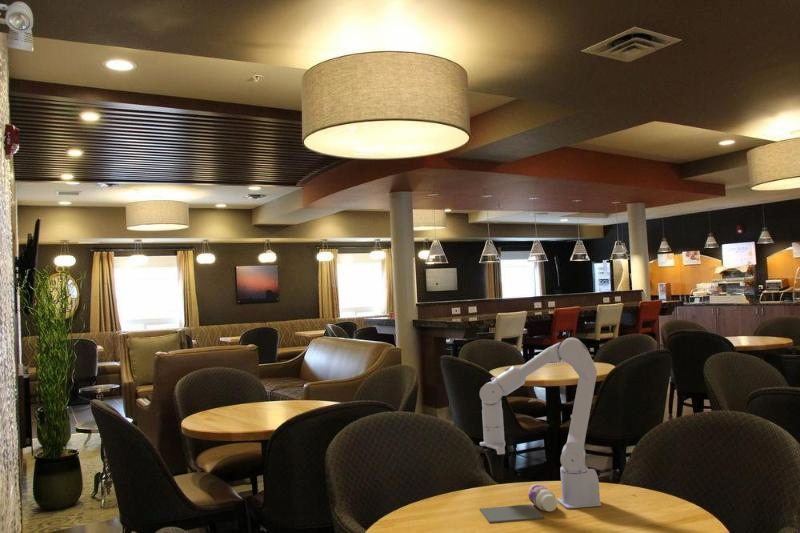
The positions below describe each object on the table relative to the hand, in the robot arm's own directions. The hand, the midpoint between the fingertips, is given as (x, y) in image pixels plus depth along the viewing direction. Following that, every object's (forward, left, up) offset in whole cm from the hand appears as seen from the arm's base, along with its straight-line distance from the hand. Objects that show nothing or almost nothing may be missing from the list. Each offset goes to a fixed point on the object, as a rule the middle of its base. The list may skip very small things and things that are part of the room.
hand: (496, 475), depth 185 cm
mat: (0, +12, -7) cm, 14 cm away
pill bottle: (-10, +5, -4) cm, 12 cm away
